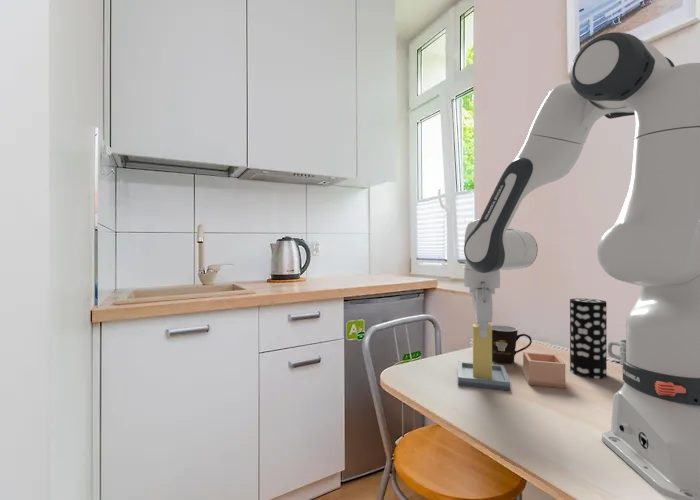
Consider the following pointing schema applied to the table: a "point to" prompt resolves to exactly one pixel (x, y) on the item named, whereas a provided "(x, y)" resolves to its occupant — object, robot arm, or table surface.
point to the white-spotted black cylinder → (588, 338)
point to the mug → (622, 350)
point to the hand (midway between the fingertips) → (482, 332)
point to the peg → (482, 353)
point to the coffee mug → (505, 343)
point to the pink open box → (544, 370)
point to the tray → (497, 381)
